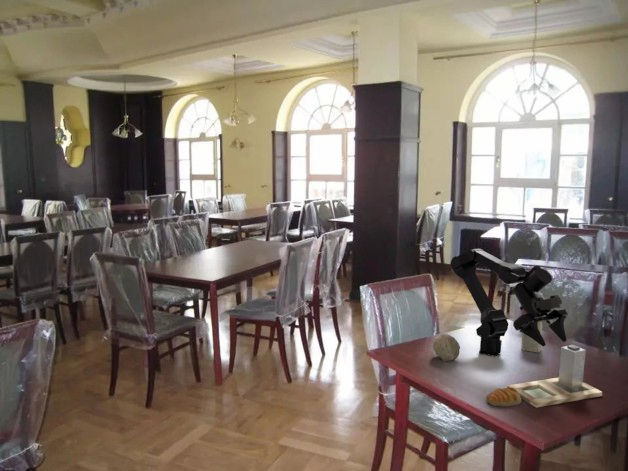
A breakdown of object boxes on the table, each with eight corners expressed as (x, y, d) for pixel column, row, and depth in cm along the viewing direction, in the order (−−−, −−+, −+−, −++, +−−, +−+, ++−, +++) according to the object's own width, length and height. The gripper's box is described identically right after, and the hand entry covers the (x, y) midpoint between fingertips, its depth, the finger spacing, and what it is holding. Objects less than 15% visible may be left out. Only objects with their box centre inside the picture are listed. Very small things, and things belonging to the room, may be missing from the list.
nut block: (557, 388, 156) (561, 345, 154) (568, 385, 158) (572, 342, 155) (571, 394, 151) (575, 350, 149) (581, 391, 153) (585, 348, 151)
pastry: (496, 410, 142) (497, 397, 141) (480, 400, 148) (481, 387, 147) (523, 405, 145) (524, 392, 145) (506, 394, 151) (506, 382, 151)
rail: (535, 407, 143) (536, 403, 143) (506, 389, 154) (507, 385, 154) (602, 395, 151) (602, 391, 151) (569, 379, 162) (570, 375, 162)
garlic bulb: (457, 368, 175) (467, 345, 171) (434, 365, 174) (444, 342, 170) (448, 350, 184) (458, 328, 180) (426, 347, 182) (435, 325, 178)
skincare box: (541, 349, 187) (543, 317, 185) (539, 353, 183) (541, 320, 182) (522, 346, 190) (524, 314, 189) (520, 349, 187) (522, 317, 185)
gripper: (523, 289, 156) (551, 335, 148) (565, 283, 165) (594, 327, 156) (501, 307, 165) (527, 352, 156) (542, 301, 173) (569, 343, 165)
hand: (555, 343), depth 158 cm, fingers open, 9 cm apart
